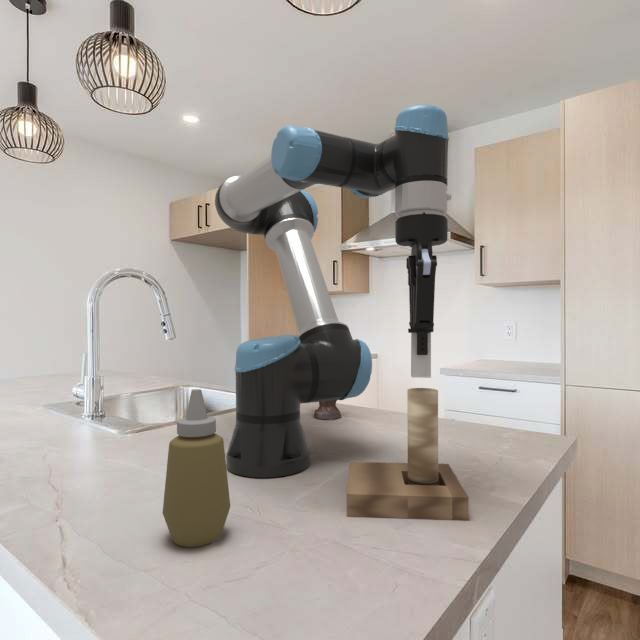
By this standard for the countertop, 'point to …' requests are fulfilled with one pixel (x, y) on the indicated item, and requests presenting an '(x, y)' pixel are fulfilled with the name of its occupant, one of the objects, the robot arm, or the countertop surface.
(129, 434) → the countertop surface
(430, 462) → the peg
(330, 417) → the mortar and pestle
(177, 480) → the squeeze bottle
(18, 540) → the countertop surface
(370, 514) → the board
